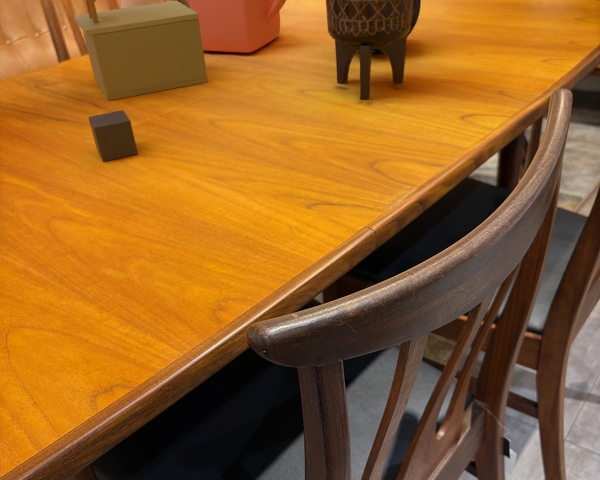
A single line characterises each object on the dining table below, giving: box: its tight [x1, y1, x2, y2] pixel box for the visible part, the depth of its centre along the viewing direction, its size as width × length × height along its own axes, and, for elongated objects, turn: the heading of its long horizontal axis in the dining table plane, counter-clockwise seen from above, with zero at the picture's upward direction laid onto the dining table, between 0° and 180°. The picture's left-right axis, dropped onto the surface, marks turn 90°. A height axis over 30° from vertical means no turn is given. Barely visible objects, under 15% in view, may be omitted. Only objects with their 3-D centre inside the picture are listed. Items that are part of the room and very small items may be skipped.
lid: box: [73, 0, 198, 36], centre depth 97 cm, size 17×13×5 cm
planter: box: [325, 0, 413, 101], centre depth 90 cm, size 13×13×18 cm
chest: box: [82, 19, 209, 101], centre depth 101 cm, size 17×13×10 cm
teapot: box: [185, 0, 287, 53], centre depth 118 cm, size 20×22×14 cm
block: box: [88, 109, 139, 162], centre depth 79 cm, size 4×4×4 cm
